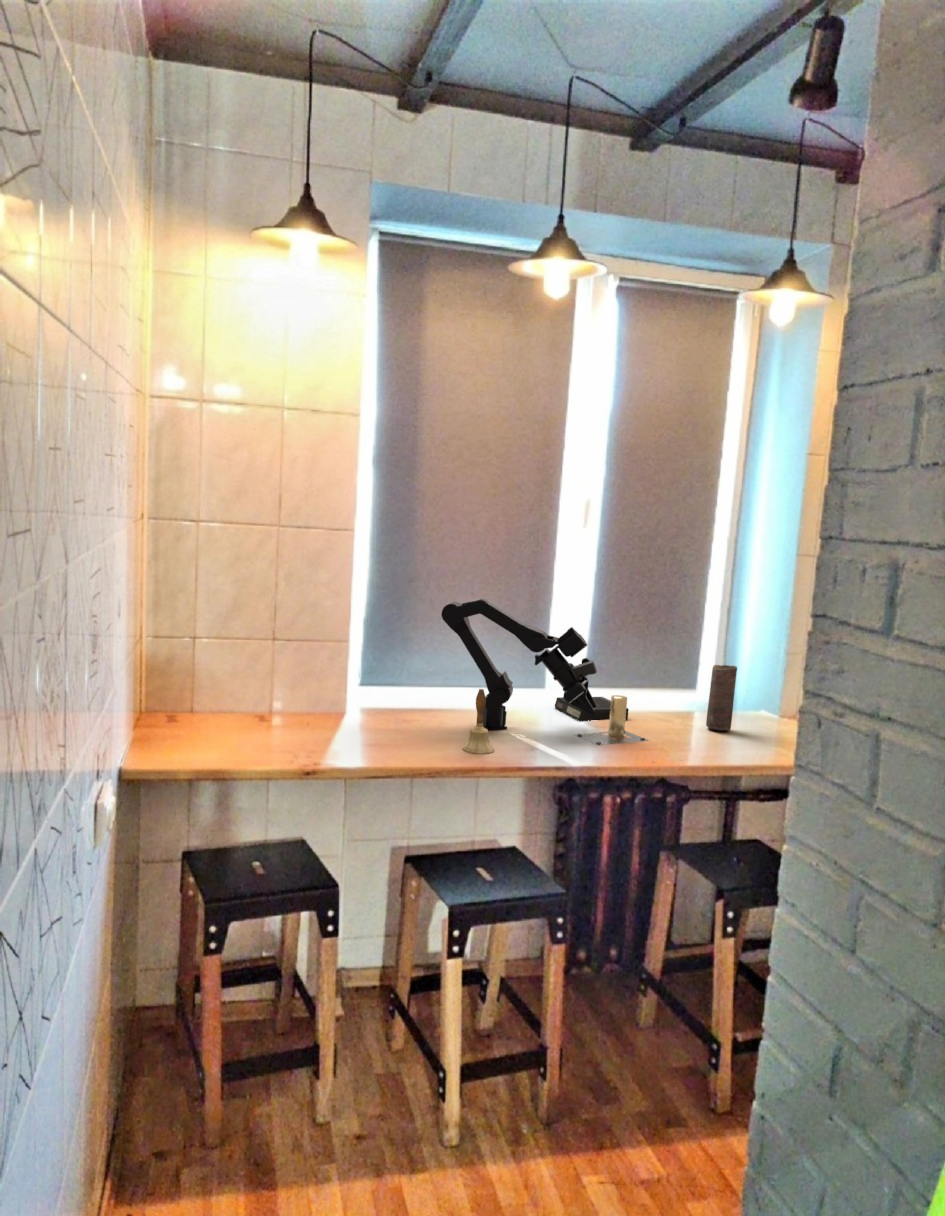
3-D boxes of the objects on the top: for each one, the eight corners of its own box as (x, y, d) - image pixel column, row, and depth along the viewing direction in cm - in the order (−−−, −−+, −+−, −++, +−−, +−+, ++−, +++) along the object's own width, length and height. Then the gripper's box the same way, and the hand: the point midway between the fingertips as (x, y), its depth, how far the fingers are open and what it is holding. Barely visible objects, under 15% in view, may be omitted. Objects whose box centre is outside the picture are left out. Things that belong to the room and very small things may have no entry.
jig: (597, 750, 248) (598, 743, 247) (572, 740, 257) (573, 733, 257) (648, 745, 257) (649, 738, 257) (623, 735, 266) (623, 729, 266)
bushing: (616, 743, 257) (620, 699, 255) (604, 739, 260) (608, 696, 258) (626, 741, 260) (630, 697, 258) (614, 737, 263) (618, 694, 261)
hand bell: (467, 754, 236) (471, 693, 234) (458, 745, 244) (462, 686, 242) (498, 754, 238) (502, 693, 236) (488, 745, 246) (492, 686, 244)
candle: (729, 735, 276) (736, 668, 273) (704, 731, 278) (711, 665, 276) (731, 729, 283) (738, 665, 281) (706, 726, 285) (713, 662, 283)
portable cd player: (554, 709, 295) (555, 697, 295) (601, 708, 301) (602, 696, 301) (578, 722, 280) (579, 709, 280) (627, 721, 286) (628, 708, 286)
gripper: (580, 655, 249) (616, 700, 249) (583, 645, 268) (617, 687, 267) (548, 680, 252) (584, 725, 251) (553, 668, 270) (587, 710, 270)
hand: (594, 710), depth 260 cm, fingers open, 9 cm apart
